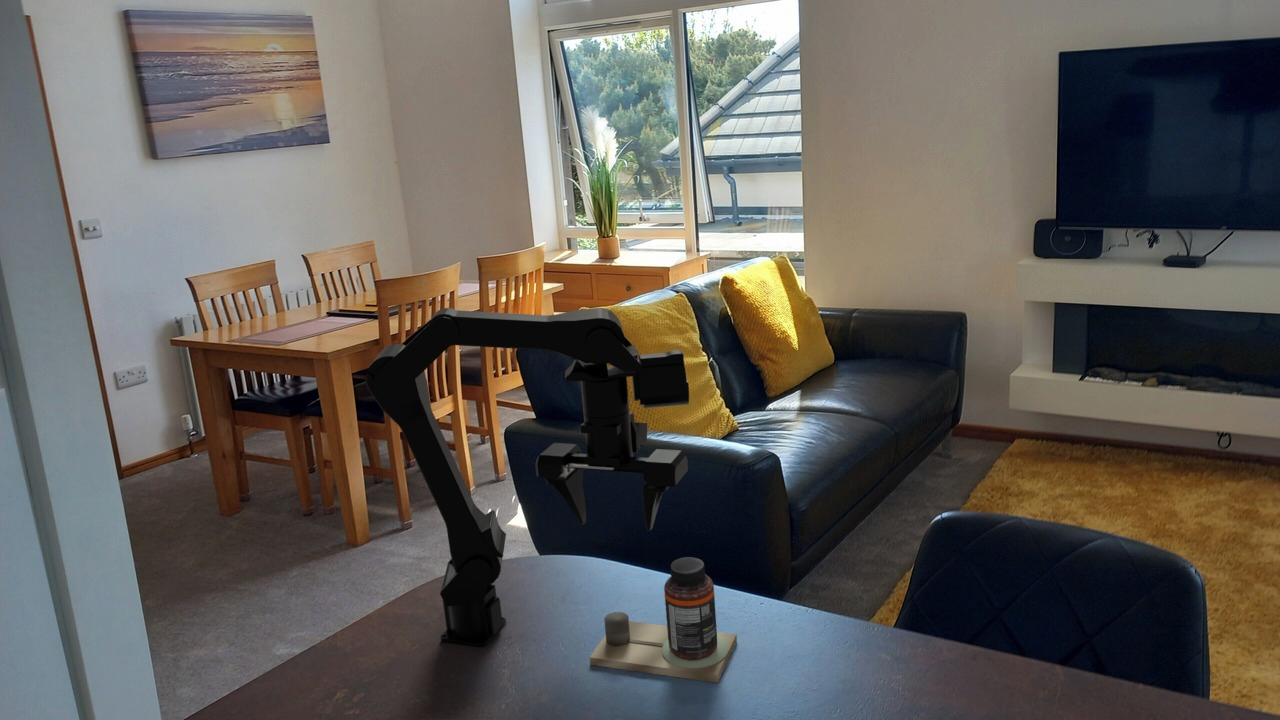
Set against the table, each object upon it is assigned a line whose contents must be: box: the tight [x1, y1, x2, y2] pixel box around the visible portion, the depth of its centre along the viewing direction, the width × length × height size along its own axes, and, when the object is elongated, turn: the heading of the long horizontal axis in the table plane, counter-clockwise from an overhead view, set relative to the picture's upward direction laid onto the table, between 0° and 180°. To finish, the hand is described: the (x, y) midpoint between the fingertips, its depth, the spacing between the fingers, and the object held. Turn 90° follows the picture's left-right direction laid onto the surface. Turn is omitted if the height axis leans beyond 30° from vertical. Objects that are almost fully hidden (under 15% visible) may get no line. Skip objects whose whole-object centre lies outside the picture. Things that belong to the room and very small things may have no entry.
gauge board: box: [589, 611, 738, 684], centre depth 120 cm, size 16×9×4 cm, turn 70°
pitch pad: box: [662, 635, 728, 669], centre depth 118 cm, size 8×8×1 cm
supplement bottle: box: [663, 556, 718, 660], centre depth 117 cm, size 6×6×11 cm
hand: (616, 526), depth 126 cm, fingers open, 9 cm apart
